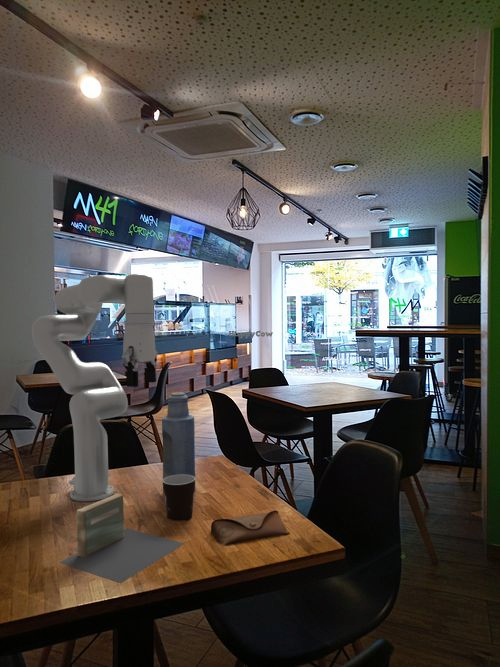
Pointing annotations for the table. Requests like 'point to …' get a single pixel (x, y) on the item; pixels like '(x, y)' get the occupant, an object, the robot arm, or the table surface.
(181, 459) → the bottle
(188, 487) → the coffee mug
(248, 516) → the sunglasses case
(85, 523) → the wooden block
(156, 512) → the table surface
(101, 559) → the mat
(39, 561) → the table surface
